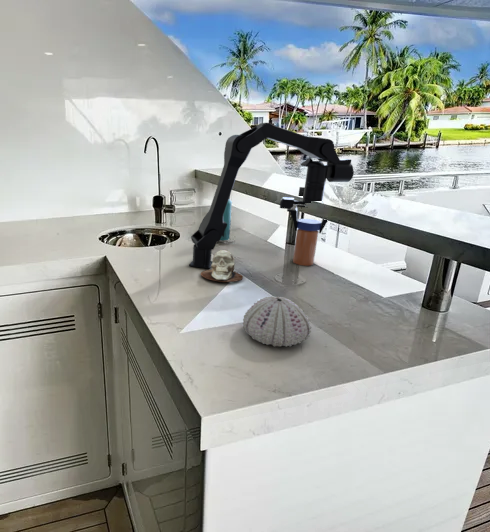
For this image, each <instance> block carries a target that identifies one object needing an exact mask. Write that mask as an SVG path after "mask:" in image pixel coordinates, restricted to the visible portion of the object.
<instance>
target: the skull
mask: <svg viewBox="0 0 490 532" xmlns="http://www.w3.org/2000/svg"><path fill="white" fill-rule="evenodd" d="M235 260H236V259H235V257H234V255H233V254H232V253H231V252H230V251H228V250H226V249H220V250H217V251H216V252H215V253H214V255H213V257H212V260H211V261H212V265H211V269H206V270H203V271H202V272H200V276H201V277H202V278H204V279H206V280H210V281H215V282H220V283H221V282H222V283H231V282H232V283H234V282H239V281H242V280H243V278H244V276H243V275H242V274H241V273H240V272H239V273H238V272H237V271H234V270H235V262H236V261H235Z"/></svg>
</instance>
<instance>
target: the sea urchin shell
mask: <svg viewBox="0 0 490 532" xmlns="http://www.w3.org/2000/svg"><path fill="white" fill-rule="evenodd" d="M242 321H243V322H242V328H243V329H244V331H245V332H246V333H247V335H249V336H251V339H253V340H255V341H256V342H258V343H261V344H263V345H266V346H269V345H272V346H273V347H279V348H280V347H282V346H283V347H286V348H287V347H293V346H297V345H298V344H302V342H304V341H305V340H307V339H308V337H310V333H312V330H311V329H312V326H311V323H310V319H309V318H308V315H307V314H306V313H305V310H302V309H301V306H299V305H298V304H296V302H293V300H290V299H288V298H287V297H283V296H265V297H263V298H260V299H259V300H257V301H255V302H254V303H253V305H251V306H250V307H249V309H247V311H245V313H244V315H243V319H242Z"/></svg>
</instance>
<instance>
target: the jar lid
mask: <svg viewBox="0 0 490 532" xmlns="http://www.w3.org/2000/svg"><path fill="white" fill-rule="evenodd" d="M321 222H322V221H320V220H317V219H312V218H297V229H301V230H306V231H319V230H320V228H321Z"/></svg>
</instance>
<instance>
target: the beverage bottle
mask: <svg viewBox="0 0 490 532" xmlns="http://www.w3.org/2000/svg"><path fill="white" fill-rule="evenodd" d="M232 204H233V202H232V200H231V199H230V198H229V200H228V203H227V206H226V209H225V212H224V215H223V221H224V222H226V223H227V227H226V229H225V231H224V237H223V236H222V237H221V239H220V240H219V241H228V240H229V239H230V237H231V233H230V232H231V225H232V207H233V206H232Z"/></svg>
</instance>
